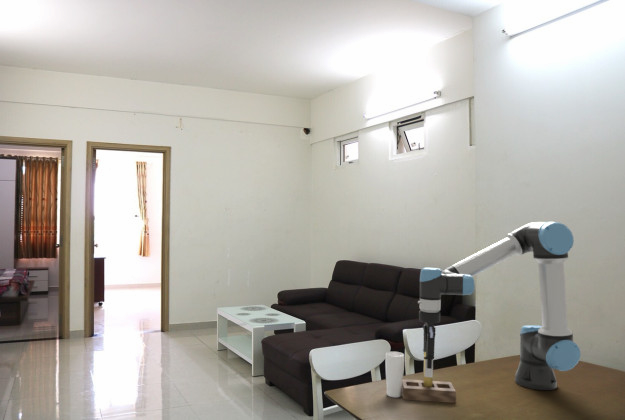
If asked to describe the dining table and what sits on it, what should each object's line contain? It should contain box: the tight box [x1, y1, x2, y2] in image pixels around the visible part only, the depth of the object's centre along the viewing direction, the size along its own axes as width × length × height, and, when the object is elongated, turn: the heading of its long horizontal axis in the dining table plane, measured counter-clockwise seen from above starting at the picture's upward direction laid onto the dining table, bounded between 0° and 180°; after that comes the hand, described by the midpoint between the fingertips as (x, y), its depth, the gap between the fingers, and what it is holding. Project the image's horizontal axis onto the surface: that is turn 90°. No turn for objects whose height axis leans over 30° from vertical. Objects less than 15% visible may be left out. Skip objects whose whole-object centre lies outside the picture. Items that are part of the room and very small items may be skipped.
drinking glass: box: [384, 351, 405, 398], centre depth 177 cm, size 7×7×15 cm
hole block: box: [401, 378, 457, 404], centre depth 177 cm, size 18×10×4 cm, turn 84°
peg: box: [423, 352, 434, 387], centre depth 177 cm, size 3×3×12 cm
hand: (428, 375), depth 177 cm, fingers closed on peg, 3 cm apart
